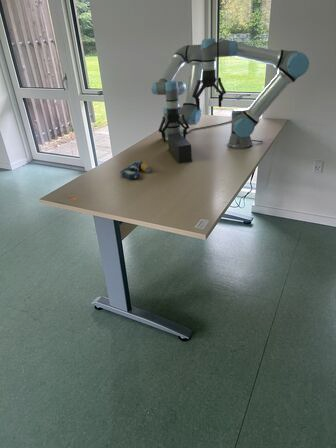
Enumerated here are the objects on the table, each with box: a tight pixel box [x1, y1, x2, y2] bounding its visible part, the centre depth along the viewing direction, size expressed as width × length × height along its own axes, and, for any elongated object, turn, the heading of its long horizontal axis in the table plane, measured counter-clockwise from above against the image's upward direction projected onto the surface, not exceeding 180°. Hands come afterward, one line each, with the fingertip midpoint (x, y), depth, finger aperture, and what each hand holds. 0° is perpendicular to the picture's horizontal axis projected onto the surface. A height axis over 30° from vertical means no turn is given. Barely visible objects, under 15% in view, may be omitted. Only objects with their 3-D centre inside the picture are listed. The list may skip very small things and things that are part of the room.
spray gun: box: [119, 160, 152, 180], centre depth 195 cm, size 21×4×15 cm
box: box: [167, 133, 193, 164], centre depth 214 cm, size 28×8×10 cm, turn 14°
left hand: (174, 140), depth 221 cm, fingers open, 13 cm apart
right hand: (209, 108), depth 201 cm, fingers open, 13 cm apart
